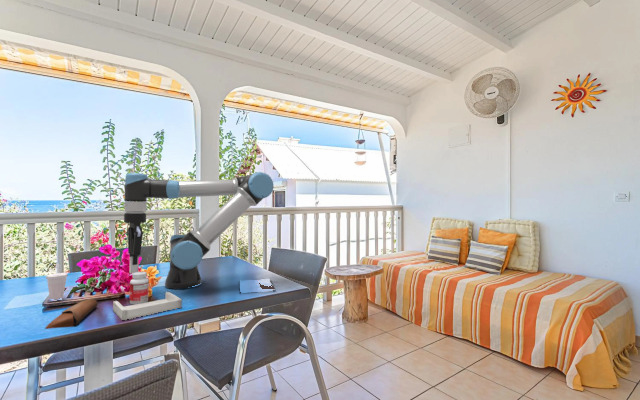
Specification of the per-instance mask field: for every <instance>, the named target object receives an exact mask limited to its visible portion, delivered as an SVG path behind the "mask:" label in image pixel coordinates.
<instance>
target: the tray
mask: <svg viewBox="0 0 640 400" xmlns="http://www.w3.org/2000/svg"><path fill="white" fill-rule="evenodd" d="M164 297H165V298H163V299H157V300H153V301H147V302H146V303H141V304H136V305H133V304H130V305H127V306H125V305H124V306H123V305H122V304H121V303H120V302H119V301H117V300H115V301H114V300H113V302H112V306H113V307H112V311H113V313H114V314H116V315H117V316H118V318H119V319H121V321H122V320H125V321H128V320H127V319H129V320H134V319H137V318H136V317H139V318H142V317H141V316H143V317H147V316H146V315H148V316H152V315H155V314H154V313H157V314H159V313H158V312H162V313H164V312H163V311H166V312H168V311H167V310H171V311H173V310H172V309H175V310H177V309H176V308H180V309H182V308H183V306H182V305H183V304H182V303H183V299H182V298H181V297H178V296H177V295H175V294H173V293H171V292H170V291H165V295H164ZM181 307H182V308H181ZM151 314H152V315H151ZM133 318H134V319H133Z"/></svg>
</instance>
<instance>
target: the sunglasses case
mask: <svg viewBox="0 0 640 400" xmlns="http://www.w3.org/2000/svg"><path fill="white" fill-rule="evenodd" d="M97 307H98V301H97V300H96V299H94V298H89V299H84V300H82V301H79V302H77V303H76V304H73V305H72V306H70V307H68V308H65V310H63V311H62V312H61V313H60V314H59V315H58V316H57V317H55V318H54V319H52V320H51V322H49V323H48V324H47V325H46V326H45V328H44V329H46V330H47V329H48V330H49V329H56V328H57V329H59V328H71V327H77V326H78V325H79V324H80V323H81V322H82V321H83V319H85V318H86V316H88V315H89V314H90V313H91V312H92V311H94V309H95V308H97Z"/></svg>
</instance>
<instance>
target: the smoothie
mask: <svg viewBox="0 0 640 400" xmlns="http://www.w3.org/2000/svg"><path fill="white" fill-rule="evenodd" d="M68 274H69V273H68V272H67V273H66V272H60V262H59V263H57V272H56V273H50V274H47V275H46V276H45V278H46V282H47V289H48V295H49V300H50V299H59V298H63V299H64V294H65V289H66V284H67V278H68V276H69V275H68Z"/></svg>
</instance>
